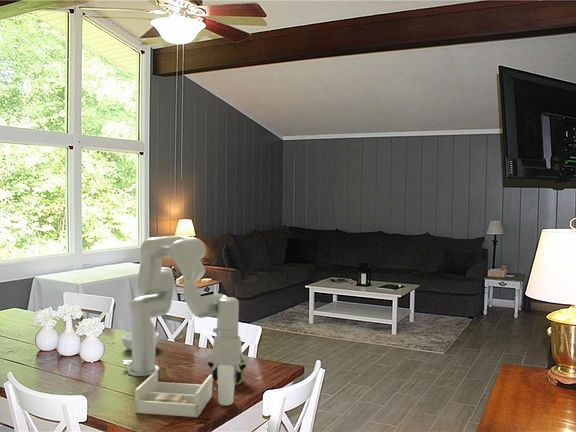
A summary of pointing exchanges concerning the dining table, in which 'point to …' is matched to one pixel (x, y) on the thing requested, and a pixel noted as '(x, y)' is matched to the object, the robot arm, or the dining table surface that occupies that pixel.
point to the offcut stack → (170, 398)
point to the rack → (190, 392)
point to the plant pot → (241, 373)
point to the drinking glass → (226, 384)
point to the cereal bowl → (128, 340)
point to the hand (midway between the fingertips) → (226, 380)
